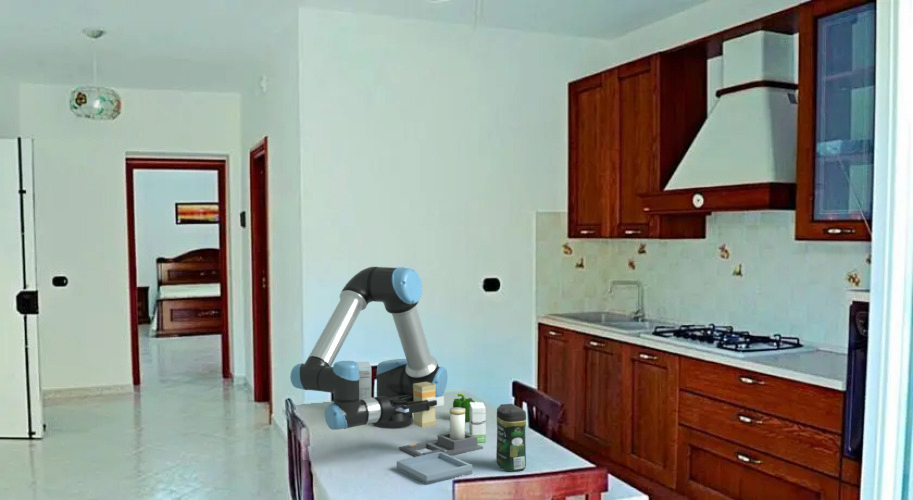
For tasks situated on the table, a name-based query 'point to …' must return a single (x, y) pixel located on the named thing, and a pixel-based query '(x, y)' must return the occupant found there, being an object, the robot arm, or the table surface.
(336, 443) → the table surface
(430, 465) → the tray
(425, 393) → the beige tall box
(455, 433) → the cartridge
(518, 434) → the coffee jar
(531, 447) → the table surface
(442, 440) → the holder block
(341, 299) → the robot arm
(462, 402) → the bell pepper
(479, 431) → the ink box
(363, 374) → the supplement box
